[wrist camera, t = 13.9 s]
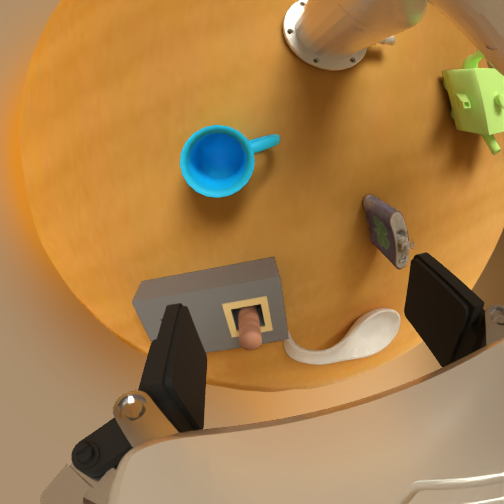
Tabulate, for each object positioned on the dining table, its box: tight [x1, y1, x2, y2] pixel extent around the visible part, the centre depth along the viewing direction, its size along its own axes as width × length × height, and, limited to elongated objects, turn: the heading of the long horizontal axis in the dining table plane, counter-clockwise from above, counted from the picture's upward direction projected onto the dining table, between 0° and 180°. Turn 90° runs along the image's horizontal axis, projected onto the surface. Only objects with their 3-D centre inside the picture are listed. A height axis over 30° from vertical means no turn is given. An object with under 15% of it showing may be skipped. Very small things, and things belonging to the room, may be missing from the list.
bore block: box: [132, 257, 289, 353], centre depth 43 cm, size 22×12×6 cm, turn 100°
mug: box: [180, 125, 280, 198], centre depth 33 cm, size 12×8×8 cm
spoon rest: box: [284, 308, 400, 365], centre depth 48 cm, size 24×12×7 cm, turn 95°
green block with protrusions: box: [442, 50, 504, 155], centre depth 28 cm, size 15×14×11 cm
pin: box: [238, 305, 262, 350], centre depth 40 cm, size 3×3×10 cm
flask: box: [363, 195, 414, 269], centre depth 37 cm, size 9×3×11 cm, turn 22°
